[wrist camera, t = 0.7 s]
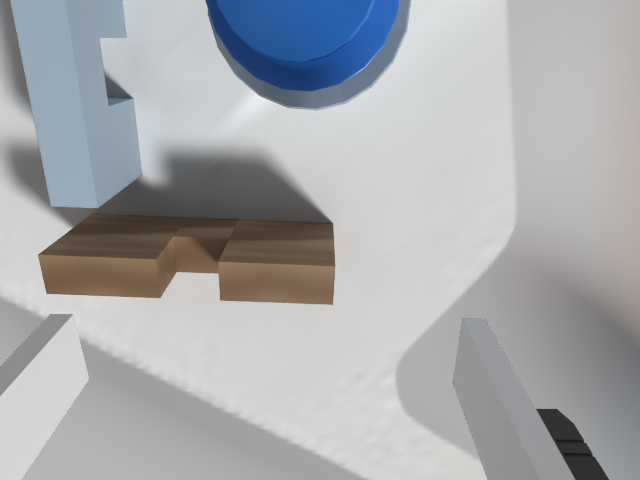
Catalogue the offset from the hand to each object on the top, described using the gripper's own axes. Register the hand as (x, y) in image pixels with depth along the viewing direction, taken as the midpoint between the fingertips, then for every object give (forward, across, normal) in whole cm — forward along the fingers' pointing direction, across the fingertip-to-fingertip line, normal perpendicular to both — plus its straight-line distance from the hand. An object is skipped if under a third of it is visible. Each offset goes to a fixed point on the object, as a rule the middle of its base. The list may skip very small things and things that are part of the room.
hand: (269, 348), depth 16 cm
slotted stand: (+23, -7, -6) cm, 25 cm away
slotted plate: (+23, -14, +7) cm, 28 cm away
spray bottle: (+24, +1, +11) cm, 26 cm away
